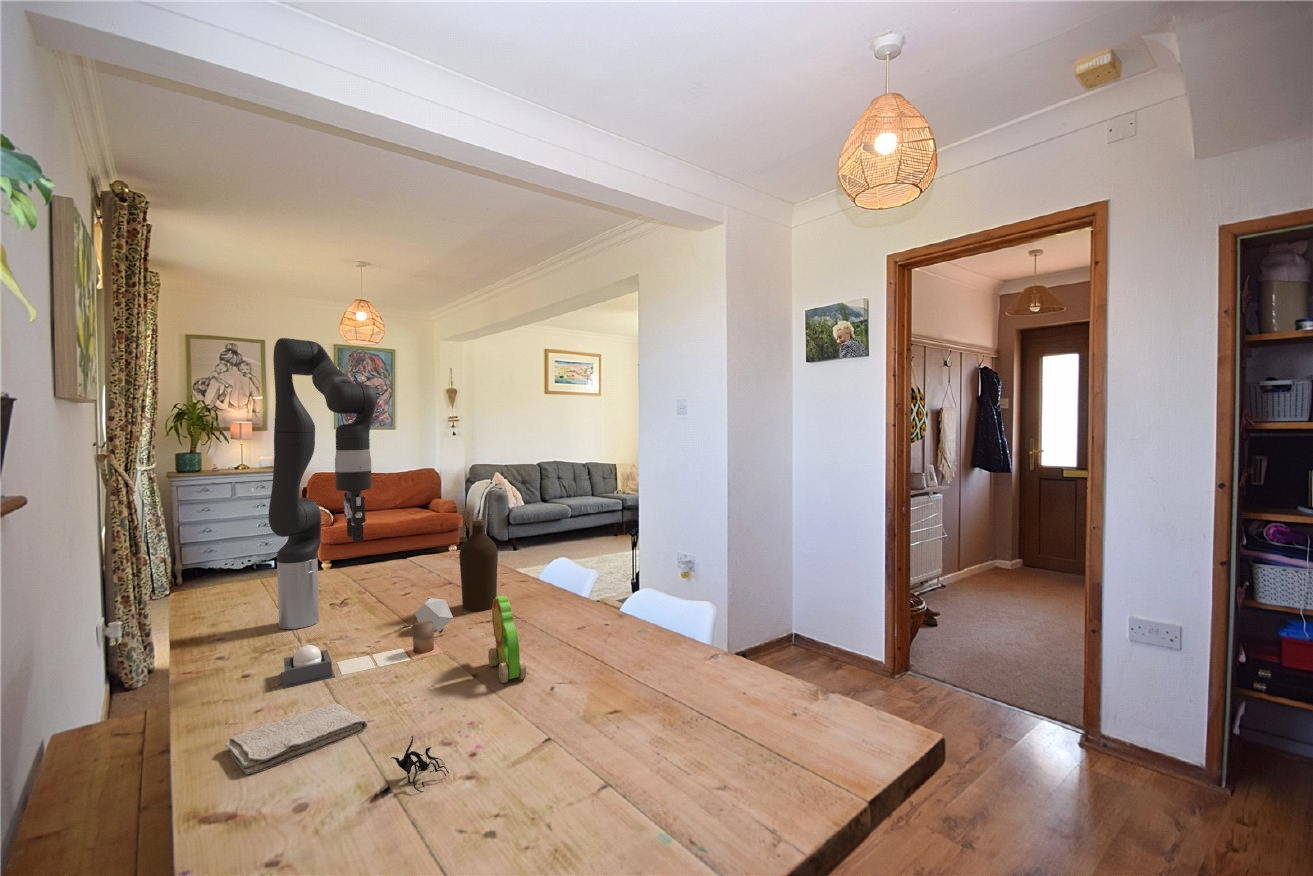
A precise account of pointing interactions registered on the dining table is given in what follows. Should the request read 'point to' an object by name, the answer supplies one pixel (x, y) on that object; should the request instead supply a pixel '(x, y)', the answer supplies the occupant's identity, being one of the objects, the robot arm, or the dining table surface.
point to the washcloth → (293, 737)
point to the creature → (423, 765)
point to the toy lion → (505, 642)
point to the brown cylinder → (423, 637)
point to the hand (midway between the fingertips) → (355, 538)
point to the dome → (306, 656)
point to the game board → (382, 659)
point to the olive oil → (478, 569)
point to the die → (435, 613)
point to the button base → (307, 671)
